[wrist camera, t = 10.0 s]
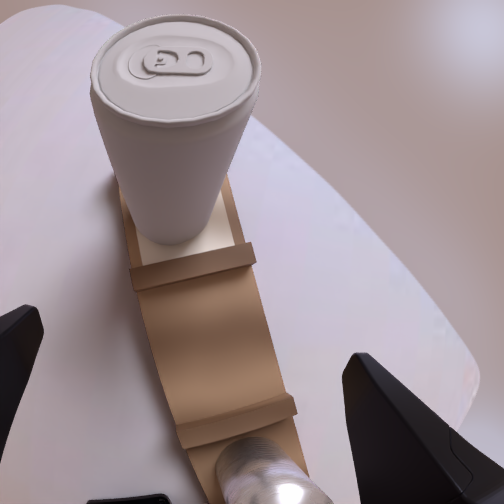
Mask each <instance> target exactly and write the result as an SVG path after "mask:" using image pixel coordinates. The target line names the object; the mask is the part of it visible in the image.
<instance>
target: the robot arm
mask: <svg viewBox="0 0 504 504" xmlns="http://www.w3.org/2000/svg"><path fill="white" fill-rule="evenodd" d="M43 335H44V329H43V325H42V322H41V318H40V315H39V311H38V309H37V308H36V307H34V306H31V305H26V304H25V305H22V306H20V307H18V308H16V309H15V310H13V311H11V312H9V313H7V314H5V315H3V316H1V317H0V462H1V458H2V455H3V451H4V448H5V444H6V441H7V438H8V435H9V431H10V428H11V425H12V422H13V420H14V417H15V414H16V411H17V408H18V406H19V403H20V400H21V398H22V395H23V393H24V390H25V388H26V385H27V383H28V380H29V377H30V374H31V372H32V368H33V365H34V362H35V359H36V356H37V353H38V350H39V347H40V344H41V341H42V339H43ZM342 384H343V394H344V404H345V416H346V424H347V430H348V435H349V440H350V445H351V450H352V456H353V461H354V467H355V472H356V478H357V483H358V489H359V495H360V502H361V504H504V469H503V468H502V467H501V466H499V465H498V464H497V463H495V462H494V461H493V460H491V459H490V458H488V457H487V456H486V455H484V454H483V453H481V452H480V451H479V450H478V449H476V448H475V447H473V446H472V445H471V444H470V443H468V442H467V441H466V440H465V439H464V438H463V437H462V436H460V435H459V434H458V433H457V432H456V431H455V430H454V429H453V428H451V427H449V425H448V424H447V423H446V422H445V421H443V420H442V419H441V418H440V417H439V416H438V415H437V414H436V413H435V412H433V411H432V410H431V409H430V408H429V407H428V406H427V405H426V404H424V403H423V402H422V401H421V400H420V399H419V398H418V397H417V396H415V395H414V394H413V393H412V392H411V391H410V390H409V389H408V388H406V387H405V386H404V385H403V384H402V383H401V382H400V381H399V380H397V379H396V378H395V377H394V376H393V375H392V374H391V373H390V372H388V371H387V370H386V369H385V368H384V367H383V366H382V365H381V364H379V363H378V362H377V361H376V360H375V359H374V358H373V357H372V356H371V355H369V354H368V353H354V354H353V355H352V356H351V358H350V360H349V362H348V364H347V366H346V367H345V369H344V371H343V374H342ZM159 499H164V501H160V500H159ZM87 504H172V503H171V502H170V500H169V498H168V496H167V495H165V494H153V495H146V496H138V497H129V498H118V499H103V500H89V501H88V502H87Z"/></svg>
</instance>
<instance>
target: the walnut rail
mask: <svg viewBox="0 0 504 504" xmlns="http://www.w3.org/2000/svg"><path fill="white" fill-rule="evenodd" d="M118 186H119V184H118ZM119 194H120V202H121V209H122V216H123V223H124V229H125V235H126V241H127V247H128V252H129V258H130V263H131V269H129V270H130V275H131V280H132V285H133V289H134V291H135V292H137V296H138V300H139V304H140V309H141V313H142V317H143V321H144V325H145V329H146V332H147V336H148V340H149V343H150V347H151V350H152V354H153V357H154V361H155V364H156V367H157V371H158V374H159V377H160V380H161V383H162V386H163V389H164V393H165V395H166V398H167V401H168V404H169V407H170V410H171V413H172V416H173V418H174V421H175V424H176V433H177V436H178V438H179V441H180V443H181V446H182V448H183V449H186V452H187V454H188V457H189V459H190V461H191V464H192V466H193V468H194V471H195V473H196V475H197V477H198V480H199V482H200V484H201V486H202V488H203V490H204V492H205V495H206V497H207V499H208V501H209V503H210V504H226V502H225V499H224V496H223V493H222V490H221V487H220V484H219V481H218V478H217V475H216V470H215V465H216V461H217V458H218V456H219V455H220V453H221V452H222V451H223V450H224V449H225V448H226V447H227V446H228V445H230V444H231V443H233V442H235V441H237V440H239V439H242V438H246V437H264V438H267V439H270V440H272V441H274V442H275V443H277V444H278V445H279V446H280V447H281V448H282V449H283V450H284V451H285V453H286V454H287V455H288V456H289V457H290V458H291V459H292V460H293V461H294V462H295V463H296V465H297V466H298V467H299V468H300V469H301V470H302V471H303V472H304V473H305V474H306V475H307V476H308V477H309V474H308V470H307V467H306V463H305V460H304V456H303V452H302V449H301V445H300V442H299V438H298V434H297V431H296V427H295V423H294V420H293V416H294V415H296V414H298V413H297V410H296V406H295V402H294V399H293V397H292V396H291V395H289V394H288V393H286V391H285V387H284V383H283V380H282V376H281V372H280V369H279V365H278V361H277V358H276V354H275V350H274V347H273V343H272V339H271V336H270V332H269V328H268V325H267V321H266V317H265V314H264V310H263V306H262V303H261V299H260V295H259V292H258V288H257V284H256V280H255V277H254V273H253V269H252V266H251V265H253V264H254V263H256V258H255V255H254V251H253V247H252V244H251V242H248V243H245V240H244V236H243V232H242V228H241V225H240V221H239V217H238V213H237V210H236V206H235V202H234V198H233V195H232V191H231V187H230V183H229V180H228V176H227V174H226V177H225V179H224V182H223V185H222V187H221V190H220V192H219V195H218V198H217V200H216V203H215V206H214V208H213V211H212V214H211V216H210V219H209V221H208V223H207V225H206V227H205V228H204V229H203V230H202V231H201V232H200V233H199V234H198V235H196V236H195V237H193V238H192V239H190V240H188V241H186V242H183V243H181V244H176V245H171V246H170V245H160V244H158V243H155V242H153V241H150V240H149V239H148V238H146V237H145V236H144V235H142V234H141V232H140V231H139V230H138V228H137V227H136V226H135V223H134V221H133V219H132V216H131V214H130V211H129V209H128V206H127V204H126V201H125V199H124V196H123V194H122V191H121V189H120V186H119Z"/></svg>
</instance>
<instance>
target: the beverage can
mask: <svg viewBox="0 0 504 504" xmlns="http://www.w3.org/2000/svg"><path fill="white" fill-rule="evenodd" d="M261 66H262V65H261V61H260V58H259V55H258V52H257V50H256V49H255V47H254V46H253V45H252V43H251V42H250V41H249V39H247V37H245V36H244V35H242V33H240V32H239V31H238V30H236V29H235V28H233V27H231V26H229V25H227V24H225V23H223V22H221V21H217V20H214V19H211V18H207V17H203V16H197V15H188V14H175V15H162V16H158V17H152V18H148V19H144V20H142V21H139V22H136V23H134V24H131V25H129V26H127V27H125V28H124V29H122V30H121V31H119V32H117V33H116V34H114V35H113V36H112V37H111V38H110V39H109V40H108V41H107V42H106V43H105V44H104V45H103V46H102V47H101V48H100V50H99V51H98V53H97V55H96V56H95V58H94V60H93V63H92V68H91V73H90V78H91V88H90V97H91V102H92V106H93V110H94V114H95V117H96V121H97V124H98V127H99V130H100V133H101V136H102V139H103V142H104V145H105V148H106V151H107V154H108V156H109V159H110V162H111V165H112V167H113V170H114V173H115V176H116V178H117V181H118V184H119V186H120V189H121V191H122V194H123V196H124V199H125V201H126V204H127V206H128V209H129V211H130V214H131V216H132V219H133V221H134V223H135V226H136V227H137V228H138V230H139V231H140V232H141V234H142V235H144V236H145V237H146V238H148V239H149V240H150V241H153V242H155V243H158V244H160V245H170V246H171V245H176V244H181V243H183V242H186V241H188V240H190V239H192V238H193V237H195V236H196V235H198V234H199V233H200V232H201V231H202V230H203V229H204V228H205V227H206V225H207V223H208V221H209V219H210V216H211V214H212V211H213V208H214V206H215V203H216V200H217V198H218V195H219V192H220V190H221V187H222V185H223V182H224V179H225V177H226V174H227V172H228V169H229V167H230V164H231V162H232V159H233V156H234V154H235V151H236V149H237V147H238V144H239V142H240V139H241V137H242V134H243V132H244V129H245V127H246V125H247V122H248V120H249V117H250V115H251V113H252V110H253V108H254V105H255V103H256V101H257V98H258V93H259V81H260V77H261Z"/></svg>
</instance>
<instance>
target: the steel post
mask: <svg viewBox="0 0 504 504" xmlns="http://www.w3.org/2000/svg"><path fill="white" fill-rule="evenodd" d="M215 470H216V475H217V478H218V481H219V484H220V487H221V490H222V493H223V496H224V499H225V502H226V504H333V502H332V500H331V499H330V498H329V497H328V496H327V495H326V494H325V493H324V492H323V491H322V490H321V489H320V488H319V487H318V486H317V485H316V484H315V483H314V482H313V481H312V480H311V479H310V478H309V477H308V476H307V475H306V474H305V473H304V472H303V471H302V470H301V469H300V468H299V467H298V466H297V465H296V463H295V462H294V461H293V460H292V459H291V458H290V457H289V456H288V455H287V454H286V453H285V451H284V450H283V449H282V448H281V447H280V446H279V445H278V444H277V443H275V442H274V441H272V440H270V439H267V438H264V437H246V438H242V439H239V440H237V441H235V442H233V443H231V444H230V445H228V446H227V447H226V448H225V449H224V450H223V451H222V452H221V453H220V455H219V456H218V458H217V461H216V465H215Z"/></svg>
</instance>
